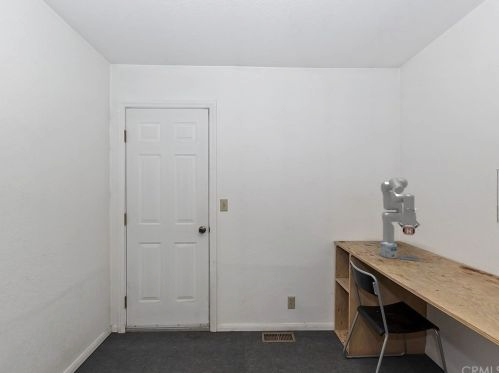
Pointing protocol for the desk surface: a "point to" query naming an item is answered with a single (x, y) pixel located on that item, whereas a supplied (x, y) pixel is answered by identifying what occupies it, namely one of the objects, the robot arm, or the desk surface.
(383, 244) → the light bulb box
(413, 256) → the blue-gray flat panel
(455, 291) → the desk surface
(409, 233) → the reddish brown cube
